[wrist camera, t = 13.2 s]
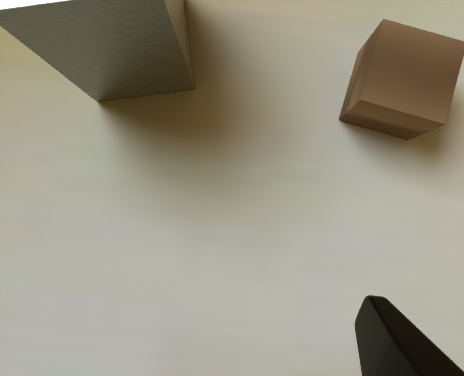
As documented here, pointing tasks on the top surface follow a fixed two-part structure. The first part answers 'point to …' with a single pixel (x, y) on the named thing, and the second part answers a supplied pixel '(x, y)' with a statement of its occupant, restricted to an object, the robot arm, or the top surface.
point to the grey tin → (107, 43)
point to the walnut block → (403, 81)
